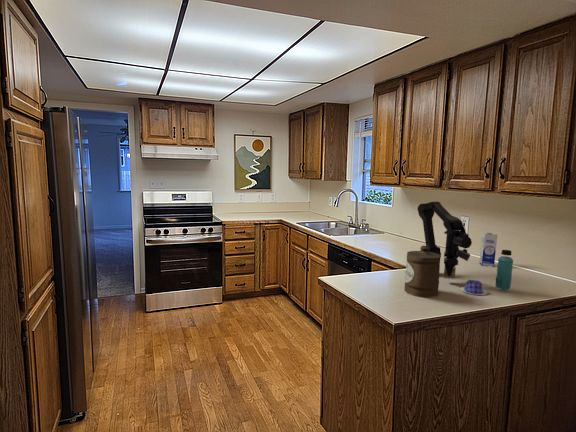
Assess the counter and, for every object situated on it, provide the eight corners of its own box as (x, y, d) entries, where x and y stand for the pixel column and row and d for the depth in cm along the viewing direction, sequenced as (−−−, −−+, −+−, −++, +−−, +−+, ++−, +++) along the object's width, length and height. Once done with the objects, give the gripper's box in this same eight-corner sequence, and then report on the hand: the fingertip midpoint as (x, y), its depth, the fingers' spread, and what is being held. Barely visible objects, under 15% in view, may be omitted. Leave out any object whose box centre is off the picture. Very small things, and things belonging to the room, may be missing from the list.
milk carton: (481, 265, 224) (484, 233, 222) (479, 263, 231) (482, 231, 228) (494, 267, 222) (497, 234, 220) (491, 264, 229) (495, 232, 226)
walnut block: (443, 277, 185) (444, 267, 185) (443, 274, 190) (444, 265, 189) (454, 278, 183) (455, 268, 183) (454, 275, 188) (455, 266, 187)
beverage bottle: (512, 290, 178) (516, 250, 175) (507, 293, 173) (512, 252, 171) (497, 287, 183) (501, 248, 180) (492, 290, 178) (497, 249, 175)
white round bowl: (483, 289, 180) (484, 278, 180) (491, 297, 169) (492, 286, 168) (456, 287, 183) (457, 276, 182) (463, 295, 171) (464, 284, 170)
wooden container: (405, 285, 182) (408, 241, 179) (437, 289, 177) (441, 244, 174) (403, 294, 168) (406, 247, 166) (438, 299, 163) (442, 250, 160)
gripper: (471, 249, 173) (468, 281, 175) (468, 242, 190) (466, 271, 192) (445, 246, 177) (442, 278, 179) (445, 240, 194) (442, 269, 196)
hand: (449, 274), depth 187 cm, fingers closed on walnut block, 5 cm apart
